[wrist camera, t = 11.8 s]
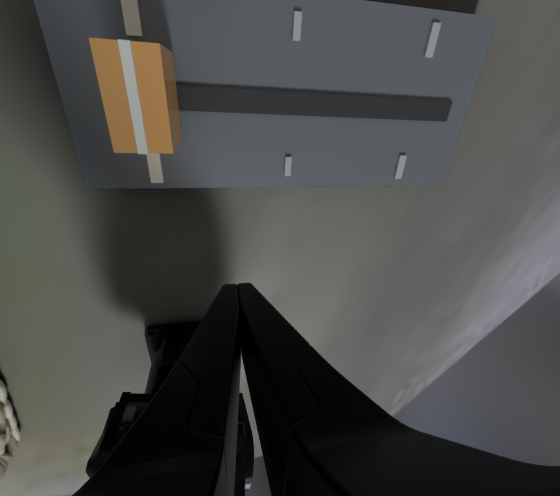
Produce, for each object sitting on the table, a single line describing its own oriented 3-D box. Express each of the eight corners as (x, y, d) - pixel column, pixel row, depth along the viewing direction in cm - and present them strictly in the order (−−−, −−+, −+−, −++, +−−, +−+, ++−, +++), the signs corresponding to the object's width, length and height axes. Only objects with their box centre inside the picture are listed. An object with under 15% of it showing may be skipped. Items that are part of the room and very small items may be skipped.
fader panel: (425, 178, 23) (444, 186, 21) (97, 179, 19) (85, 190, 17) (472, 23, 18) (501, 16, 17) (44, -28, 14) (18, -46, 12)
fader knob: (181, 138, 16) (172, 154, 13) (135, 137, 16) (112, 153, 12) (172, 52, 14) (158, 42, 11) (119, 48, 14) (86, 36, 10)
